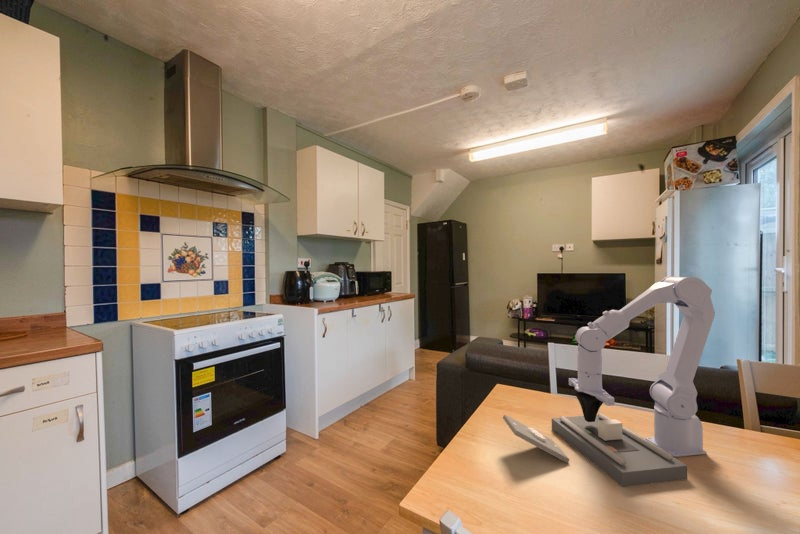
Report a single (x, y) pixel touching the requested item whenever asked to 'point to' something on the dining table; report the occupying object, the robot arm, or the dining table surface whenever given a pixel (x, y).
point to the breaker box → (621, 455)
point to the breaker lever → (610, 429)
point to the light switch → (535, 438)
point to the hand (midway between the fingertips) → (589, 420)
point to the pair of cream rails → (607, 450)
